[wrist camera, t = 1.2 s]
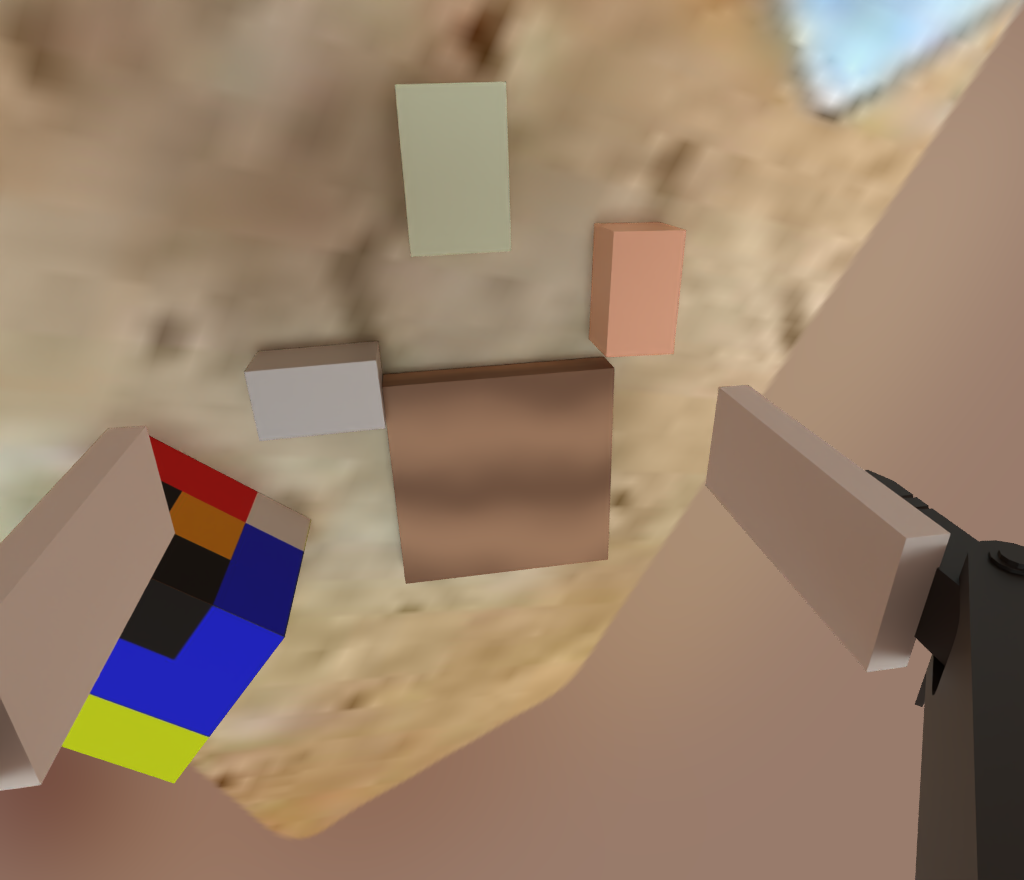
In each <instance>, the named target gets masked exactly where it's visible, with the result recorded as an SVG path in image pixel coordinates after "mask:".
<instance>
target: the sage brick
mask: <svg viewBox="0 0 1024 880" xmlns="http://www.w3.org/2000/svg"><path fill="white" fill-rule="evenodd" d="M395 96H396V107H397V118H398V129H399V139H400V150H401V161H402V172H403V182H404V193H405V204H406V215H407V225H408V236H409V245H410V253H411V257H421V256H438V255H456V254H473V253H491V252H508V251H511V222H510V190H509V158H508V126H507V94H506V82H470V83H428V84H395Z"/></svg>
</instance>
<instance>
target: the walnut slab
mask: <svg viewBox="0 0 1024 880" xmlns="http://www.w3.org/2000/svg"><path fill="white" fill-rule="evenodd" d="M382 390H383V398H384V406H385V415H386V423H387V431H388V440H389V448H390V456H391V465H392V473H393V481H394V490H395V498H396V506H397V515H398V523H399V531H400V540H401V548H402V556H403V565H404V573H405V581H406V584H407V583H416V582H424V581H432V580H441V579H449V578H457V577H466V576H474V575H482V574H490V573H499V572H507V571H515V570H524V569H532V568H540V567H549V566H557V565H565V564H574V563H582V562H590V561H599V560H607V559H608V541H609V512H610V482H611V453H612V424H613V394H614V367H613V366H612V365H611V364H610V363H609V362H608V361H607V360H606V359H605V358H604V357H596V358H583V359H571V360H558V361H546V362H533V363H520V364H508V365H495V366H483V367H470V368H458V369H445V370H432V371H420V372H407V373H395V374H383V382H382Z"/></svg>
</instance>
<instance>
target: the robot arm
mask: <svg viewBox="0 0 1024 880" xmlns="http://www.w3.org/2000/svg"><path fill="white" fill-rule="evenodd" d="M705 486H706V487H707V488H708V489H709V490H710V491H711V493H712V494H713V495H714V496H715V497H716V498H717V500H718V501H719V502H720V503H721V504H722V505H723V506H724V508H725V509H726V510H727V511H728V512H729V513H730V514H731V516H732V517H733V518H734V519H735V520H736V522H737V523H738V524H739V525H740V526H741V527H742V528H743V530H744V531H745V532H746V533H747V534H748V535H749V536H750V538H751V539H752V540H753V541H754V542H755V543H756V545H757V546H758V547H759V548H760V549H761V550H762V552H763V553H764V554H765V555H766V556H767V557H768V559H769V560H770V561H771V562H772V563H773V564H774V565H775V566H776V567H777V569H778V570H779V571H780V572H781V573H782V575H783V576H784V577H785V578H786V579H787V580H788V582H789V583H790V584H791V585H792V586H793V587H794V588H795V590H796V591H797V592H798V593H799V594H800V595H801V597H802V598H803V599H804V600H805V601H806V602H807V604H808V605H809V606H810V607H811V608H812V609H813V610H814V612H815V613H816V614H817V615H818V616H819V617H820V619H821V620H822V621H823V622H824V623H825V624H826V625H827V627H828V628H829V629H830V630H831V631H832V632H833V634H834V635H835V636H836V637H837V638H838V639H839V641H841V643H842V644H843V645H844V646H845V648H846V649H847V650H848V651H849V652H850V653H851V654H852V656H853V657H854V658H855V659H856V660H857V661H858V663H859V664H860V665H861V666H862V667H863V668H864V669H865V671H866V672H871V671H877V670H885V669H892V668H899V667H906V666H907V664H908V661H909V658H910V655H911V652H912V649H913V646H914V643H915V640H916V638H917V639H918V640H919V641H920V642H921V643H922V644H923V645H924V646H925V647H926V648H927V649H928V650H929V651H930V652H931V653H932V656H931V659H930V662H929V665H928V668H927V671H926V674H925V677H924V679H923V682H922V685H921V688H920V691H919V694H918V697H917V700H916V703H915V705H918V706H921V707H922V706H923V704H924V703H925V706H924V707H925V708H924V725H923V745H922V763H921V782H920V801H919V819H918V821H919V822H918V839H917V857H916V876H915V880H1024V547H1023V546H1020V545H1017V544H1014V543H1008V542H1002V541H980V542H979V541H977V540H976V539H974V538H973V537H971V536H970V535H969V534H967V533H966V532H965V531H963V530H962V529H960V528H959V527H958V526H956V525H955V524H953V523H952V522H950V521H949V520H948V519H946V518H945V517H943V516H942V515H940V514H939V513H938V512H936V511H935V510H933V509H929V508H928V505H927V504H925V503H924V502H922V501H921V500H920V499H918V498H917V497H915V498H913V494H911V493H910V492H908V491H907V490H905V489H904V488H903V487H901V486H900V485H899V484H897V483H896V482H894V481H892V480H890V479H888V478H885V477H883V476H881V475H878V474H876V473H874V472H872V471H869V470H863V469H862V468H861V467H859V466H858V465H857V464H855V463H854V462H852V461H851V460H850V459H848V458H847V457H846V456H844V455H843V454H842V453H840V452H839V451H837V450H836V449H835V448H833V447H832V446H831V445H829V444H828V443H826V442H825V441H824V440H822V439H821V438H820V437H818V436H817V435H816V434H814V433H813V432H811V431H810V430H809V429H807V428H806V427H805V426H803V425H802V424H801V423H799V422H798V421H796V420H795V419H794V418H792V417H791V416H790V415H788V414H787V413H786V412H784V411H783V410H782V409H780V408H779V407H777V406H776V405H775V404H773V403H772V402H771V401H769V400H768V399H767V398H765V397H764V396H762V395H761V394H760V393H758V392H757V391H756V390H754V389H753V388H752V387H750V386H749V385H741V386H726V387H719V389H718V397H717V404H716V411H715V419H714V426H713V433H712V441H711V448H710V455H709V463H708V470H707V478H706V485H705ZM174 534H175V531H174V527H173V524H172V520H171V516H170V513H169V509H168V505H167V501H166V498H165V494H164V490H163V486H162V483H161V479H160V475H159V472H158V468H157V464H156V460H155V457H154V453H153V449H152V445H151V442H150V438H149V434H148V431H147V427H146V426H136V427H121V428H108V429H107V430H106V431H105V432H104V433H103V434H102V436H101V437H100V438H99V439H98V440H97V441H96V442H95V443H94V444H93V445H92V446H91V447H90V448H89V449H88V450H87V452H86V453H85V454H84V455H83V456H82V457H81V458H80V459H79V460H78V461H77V462H76V463H75V464H74V465H73V466H72V468H71V469H70V470H69V471H68V472H67V473H66V474H65V475H64V476H63V477H62V478H61V479H60V480H59V481H58V483H57V484H56V485H55V486H54V487H53V488H52V489H51V490H50V491H49V492H48V493H47V494H46V495H45V496H44V497H43V499H42V500H41V501H40V502H39V503H38V504H37V505H36V506H35V507H34V508H33V509H32V510H31V511H30V512H29V513H28V515H27V516H26V517H25V518H24V519H23V520H22V521H21V522H20V523H19V524H18V525H17V526H16V527H15V528H14V529H13V531H12V532H11V533H10V534H9V535H8V536H7V537H6V538H5V539H4V540H3V541H2V542H1V543H0V790H8V789H15V788H22V787H29V786H37V785H41V784H42V782H43V780H44V778H45V776H46V774H47V772H48V771H49V769H50V767H51V765H52V763H53V761H54V759H55V757H56V756H57V754H58V752H59V750H60V748H61V746H62V744H63V742H64V741H65V739H66V737H67V735H68V733H69V731H70V729H71V727H72V726H73V724H74V722H75V720H76V718H77V716H78V714H79V712H80V711H81V709H82V707H83V705H84V703H85V701H86V699H87V697H88V696H89V694H90V692H91V690H92V688H93V686H94V684H95V682H96V680H97V679H98V677H99V675H100V673H101V671H102V669H103V667H104V665H105V664H106V662H107V660H108V658H109V656H110V654H111V652H112V650H113V649H114V647H115V645H116V643H117V641H118V639H119V637H120V635H121V634H122V632H123V630H124V628H125V626H126V624H127V622H128V620H129V619H130V617H131V615H132V613H133V611H134V609H135V607H136V605H137V604H138V602H139V600H140V598H141V596H142V594H143V592H144V590H145V589H146V587H147V585H148V583H149V581H150V579H151V577H152V575H153V574H154V572H155V570H156V568H157V566H158V564H159V562H160V560H161V559H162V557H163V555H164V553H165V551H166V549H167V547H168V545H169V544H170V542H171V540H172V538H173V536H174Z"/></svg>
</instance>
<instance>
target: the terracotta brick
mask: <svg viewBox="0 0 1024 880" xmlns="http://www.w3.org/2000/svg"><path fill="white" fill-rule="evenodd" d="M685 237H686V230H684V229H681V228H678V227H674V226H671V225H668V224H665V223H661V222H650V223H595V225H594V245H593V265H592V286H591V306H590V327H589V340H590V341H591V342H592V343H593V344H594V345H595V346H596V347H597V348H598V349H599V350H600V351H601V352H602V353H603V354H604V355H605V356H606V357H620V356H641V355H662V354H673V353H674V343H675V334H676V324H677V314H678V305H679V295H680V285H681V276H682V266H683V256H684V247H685Z"/></svg>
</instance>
